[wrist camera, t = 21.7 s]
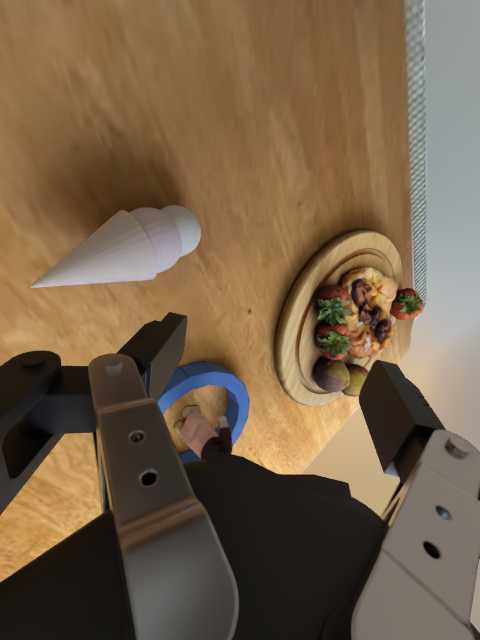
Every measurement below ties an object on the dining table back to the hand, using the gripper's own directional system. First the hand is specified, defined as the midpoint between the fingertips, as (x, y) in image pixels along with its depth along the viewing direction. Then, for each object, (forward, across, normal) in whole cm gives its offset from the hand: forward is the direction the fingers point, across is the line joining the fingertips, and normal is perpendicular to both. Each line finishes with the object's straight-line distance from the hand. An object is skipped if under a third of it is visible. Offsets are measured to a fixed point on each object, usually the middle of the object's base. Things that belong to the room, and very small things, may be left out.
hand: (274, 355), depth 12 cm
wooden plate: (+38, -14, +13) cm, 43 cm away
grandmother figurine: (+18, +7, +23) cm, 30 cm away
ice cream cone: (+15, +15, +1) cm, 21 cm away
